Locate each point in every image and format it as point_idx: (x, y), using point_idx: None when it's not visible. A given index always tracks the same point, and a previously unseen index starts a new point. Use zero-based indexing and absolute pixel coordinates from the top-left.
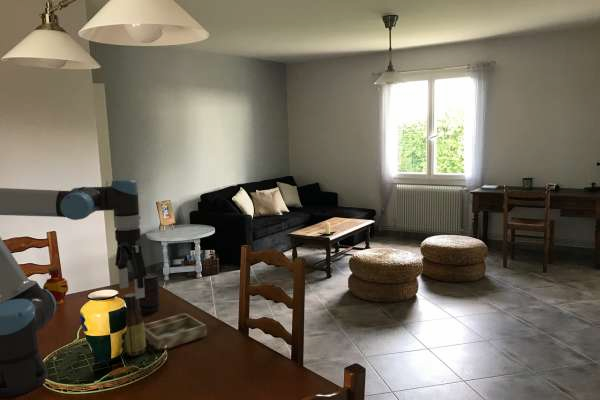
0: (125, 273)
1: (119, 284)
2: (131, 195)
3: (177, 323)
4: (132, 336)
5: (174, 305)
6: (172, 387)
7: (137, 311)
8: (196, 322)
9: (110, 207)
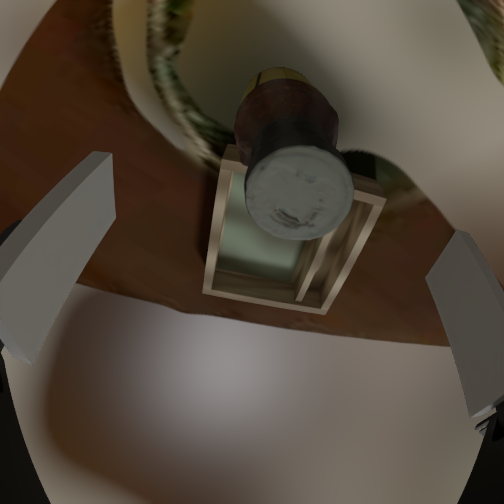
0: (472, 366)
1: (482, 255)
2: None
3: (305, 272)
4: (251, 84)
5: (420, 328)
6: (32, 73)
7: (248, 157)
8: (247, 293)
9: None
